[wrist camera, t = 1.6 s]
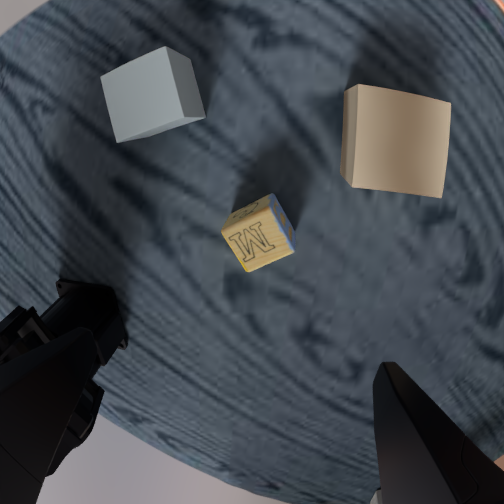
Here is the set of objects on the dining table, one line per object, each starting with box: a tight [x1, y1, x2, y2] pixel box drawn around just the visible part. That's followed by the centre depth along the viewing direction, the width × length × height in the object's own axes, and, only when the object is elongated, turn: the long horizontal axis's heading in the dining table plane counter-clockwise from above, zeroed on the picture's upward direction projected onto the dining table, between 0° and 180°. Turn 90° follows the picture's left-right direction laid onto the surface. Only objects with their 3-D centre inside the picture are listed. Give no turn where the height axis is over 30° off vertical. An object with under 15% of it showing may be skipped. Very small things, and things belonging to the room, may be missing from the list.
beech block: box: [340, 84, 451, 198], centre depth 14 cm, size 5×5×4 cm
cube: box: [101, 46, 206, 143], centre depth 15 cm, size 4×4×4 cm
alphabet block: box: [221, 193, 295, 272], centre depth 18 cm, size 3×3×3 cm
